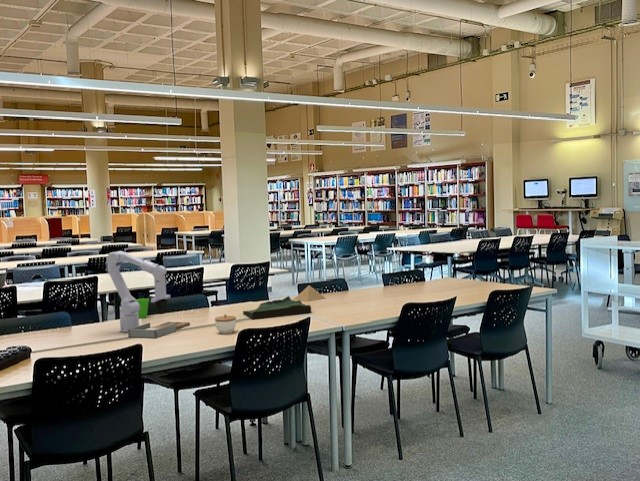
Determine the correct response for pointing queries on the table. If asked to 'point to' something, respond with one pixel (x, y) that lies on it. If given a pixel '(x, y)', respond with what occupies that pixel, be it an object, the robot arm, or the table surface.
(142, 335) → the grey box
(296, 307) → the topographic model
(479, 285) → the table surface
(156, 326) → the terracotta tile
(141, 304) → the cup
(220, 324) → the lidded jar
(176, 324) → the walnut board
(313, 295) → the model pyramid
